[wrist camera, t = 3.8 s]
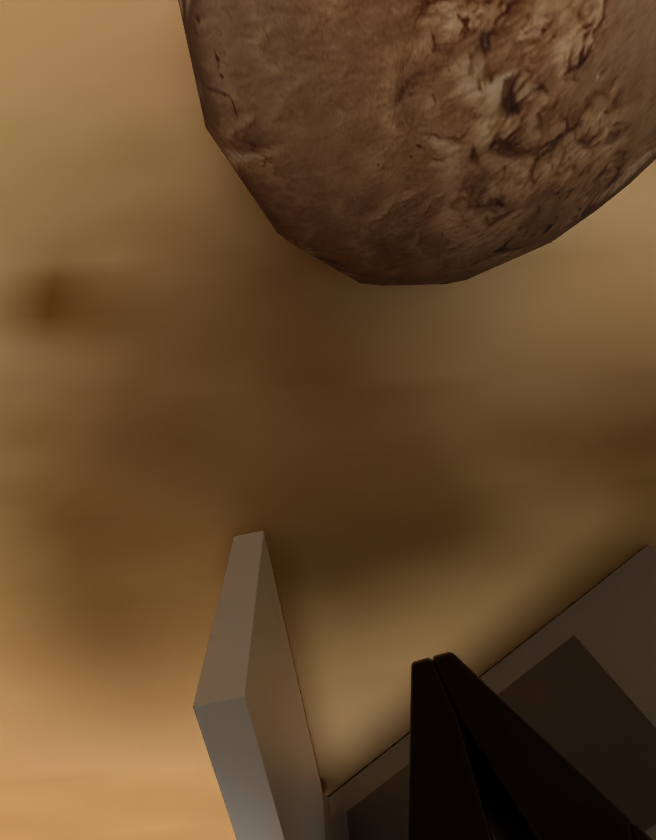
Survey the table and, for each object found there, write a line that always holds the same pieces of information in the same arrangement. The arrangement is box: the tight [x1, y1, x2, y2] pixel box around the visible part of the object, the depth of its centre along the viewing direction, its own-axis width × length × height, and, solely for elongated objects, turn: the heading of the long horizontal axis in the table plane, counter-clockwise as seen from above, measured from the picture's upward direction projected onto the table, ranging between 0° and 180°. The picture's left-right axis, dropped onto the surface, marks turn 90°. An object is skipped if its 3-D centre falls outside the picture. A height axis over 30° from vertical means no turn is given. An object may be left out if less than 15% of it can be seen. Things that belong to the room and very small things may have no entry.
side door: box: [193, 531, 333, 840], centre depth 9 cm, size 10×1×4 cm, turn 9°
